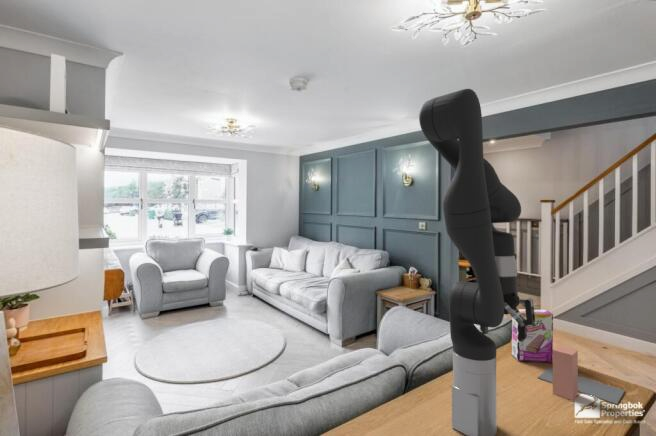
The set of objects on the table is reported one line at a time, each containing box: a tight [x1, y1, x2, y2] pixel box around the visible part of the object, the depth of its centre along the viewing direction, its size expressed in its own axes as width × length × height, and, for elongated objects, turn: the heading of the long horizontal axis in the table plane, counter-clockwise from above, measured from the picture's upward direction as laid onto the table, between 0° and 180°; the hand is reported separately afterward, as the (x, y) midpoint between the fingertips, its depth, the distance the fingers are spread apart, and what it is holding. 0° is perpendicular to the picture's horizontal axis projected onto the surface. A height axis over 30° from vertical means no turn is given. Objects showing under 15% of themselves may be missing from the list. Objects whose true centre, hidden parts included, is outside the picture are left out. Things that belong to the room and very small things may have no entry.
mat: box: [537, 366, 626, 406], centre depth 94 cm, size 10×18×1 cm, turn 39°
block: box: [552, 345, 579, 402], centre depth 89 cm, size 4×4×12 cm
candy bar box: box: [511, 308, 554, 363], centre depth 111 cm, size 11×5×16 cm, turn 84°
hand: (503, 336), depth 84 cm, fingers open, 8 cm apart
